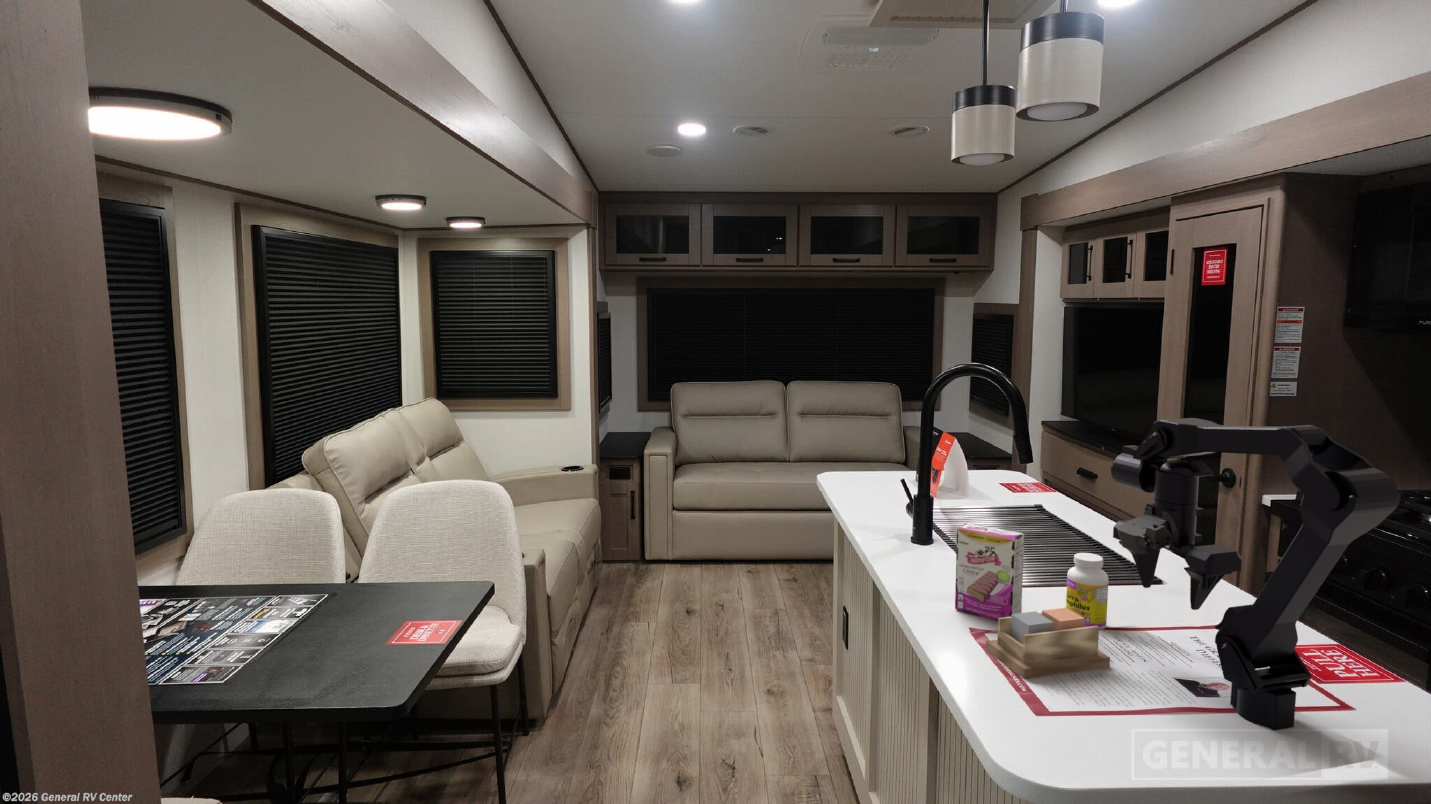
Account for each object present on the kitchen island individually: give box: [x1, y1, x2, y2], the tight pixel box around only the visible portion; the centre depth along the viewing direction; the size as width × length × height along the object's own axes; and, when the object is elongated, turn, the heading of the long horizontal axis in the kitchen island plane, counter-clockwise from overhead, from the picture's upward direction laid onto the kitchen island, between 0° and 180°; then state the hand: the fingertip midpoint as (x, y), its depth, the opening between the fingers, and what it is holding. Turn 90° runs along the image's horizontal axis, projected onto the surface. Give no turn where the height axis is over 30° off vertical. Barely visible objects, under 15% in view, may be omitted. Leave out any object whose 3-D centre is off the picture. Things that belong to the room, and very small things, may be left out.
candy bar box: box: [954, 522, 1025, 622], centre depth 137 cm, size 11×5×16 cm, turn 47°
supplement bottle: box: [1065, 552, 1110, 631], centre depth 132 cm, size 7×7×13 cm
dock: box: [985, 639, 1111, 680], centre depth 117 cm, size 10×15×3 cm, turn 102°
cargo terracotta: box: [1041, 607, 1085, 631], centre depth 117 cm, size 4×4×4 cm
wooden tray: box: [997, 612, 1100, 664], centre depth 116 cm, size 13×7×4 cm, turn 102°
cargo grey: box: [1011, 611, 1054, 645], centre depth 116 cm, size 4×4×4 cm
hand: (1169, 598), depth 114 cm, fingers open, 9 cm apart
